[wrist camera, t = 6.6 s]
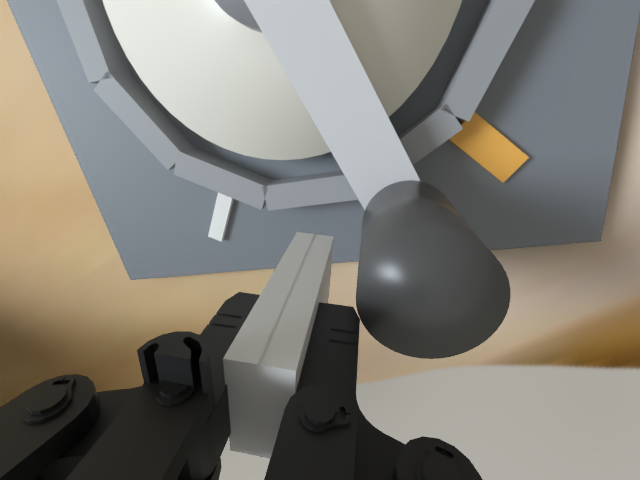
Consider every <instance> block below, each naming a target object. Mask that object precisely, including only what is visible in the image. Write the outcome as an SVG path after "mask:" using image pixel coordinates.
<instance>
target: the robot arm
mask: <svg viewBox="0 0 640 480" xmlns="http://www.w3.org/2000/svg"><path fill="white" fill-rule="evenodd" d="M333 241H334V236H326V235H318V234H309V233H301V232H297V233H296V235H295V236H294V238H293V240H292V241H291V243H290V245H289V247H288V248H287V250H286V252H285V253H284V255H283V257H282V259H281V260H280V262H279V264H278V265H277V267H276V269H275V271H274V272H273V274H272V276H271V277H270V279H269V281H268V282H267V284H266V286H265V288H264V289H263V291H262V293H261V294H260V295H256V294H249V293H242V292H239V293H237V294H235V295H234V296H232V297H231V298H229V299H228V300H226V301H225V302H224V304H223V305H222V306H221V308H220V309H219V310H218V312H217V314H216V315H215V316H214V317H213V318H212V320H211V321H210V323H209V325H207V326H206V328H205V329H204V330H203V332H202V333H201V334H200V335H198V334H195V333H192V332H173V333H168V334H164V335H161V336H159V337H156V338H154V339H152V340H150V341H148V342H147V343H145V344H144V345H143V346H142V347H140V348H139V349H138V350H137V353H138V357H139V361H140V366H141V370H142V375H143V379H144V384H143V385H142V386H141V387H136V388H131V389H122V390H113V391H104V392H96V389H95V386H94V383H93V382H92V381H91V380H90V379H89V378H88V377H86V376H81V375H77V374H74V375H64V376H59V377H56V378H53V379H50V380H46V381H44V382H42V383H40V384H38V385H36V386H34V387H32V388H30V389H29V390H27V391H25V392H24V393H22V394H20V395H19V396H17V397H16V398H14V399H13V400H11V401H10V402H8V403H7V404H5V405H3V406H2V407H0V480H219V475H220V471H221V459H220V456H221V454H222V451H223V449H224V447H225V444H226V442H227V440H228V437H229V438H230V450H232V451H237V452H242V453H247V454H252V455H257V456H261V457H266V458H270V462H269V465H268V469H267V472H266V476H265V479H264V480H482V478H481V476H480V475H479V473H478V472H477V470H476V469H475V468H474V466H473V464H472V463H471V462H470V460H469V459H468V458H467V457H466V456H464V455H463V454H462V453H461V452H460V451H459V450H458V449H457V448H455V447H454V446H452V445H450V444H448V443H446V442H444V441H441V440H440V439H436V438H429V437H420V438H417V439H413V440H410V441H409V442H408V443H407V444H406V445H405V444H403V443H401V442H399V441H398V440H396V439H394V438H392V437H390V436H388V435H386V434H384V433H382V432H381V431H379V430H378V429H376V428H375V427H374V426H372V425H371V424H370V422H368V421H367V420H366V418H365V417H364V415H363V414H362V412H361V411H360V409H359V406H358V403H357V400H356V379H357V360H358V342H359V323H360V319H359V317H358V315H357V313H356V311H355V310H354V308H353V307H349V306H342V305H335V304H328V303H327V302H328V298H329V287H330V276H331V264H332V253H333Z"/></svg>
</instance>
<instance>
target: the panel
mask: <svg viewBox="0 0 640 480" xmlns="http://www.w3.org/2000/svg"><path fill="white" fill-rule="evenodd" d="M7 2H8V4H9V7H10V9H11V11H12V14H13V16H14V18H15V20H16V23H17V25H18V27H19V29H20V32H21V34H22V36H23V38H24V41H25V43H26V45H27V47H28V50H29V52H30V54H31V56H32V59H33V61H34V63H35V65H36V68H37V70H38V72H39V74H40V77H41V79H42V81H43V83H44V86H45V88H46V90H47V92H48V95H49V97H50V99H51V102H52V104H53V106H54V108H55V111H56V113H57V115H58V117H59V120H60V122H61V124H62V126H63V129H64V131H65V133H66V135H67V138H68V140H69V142H70V144H71V147H72V149H73V151H74V153H75V156H76V158H77V160H78V162H79V165H80V167H81V169H82V171H83V174H84V176H85V178H86V180H87V183H88V185H89V187H90V190H91V192H92V194H93V196H94V199H95V201H96V203H97V205H98V208H99V210H100V212H101V214H102V217H103V219H104V221H105V223H106V226H107V228H108V230H109V232H110V235H111V237H112V239H113V241H114V244H115V246H116V248H117V250H118V253H119V255H120V257H121V259H122V262H123V264H124V266H125V269H126V271H127V273H128V275H129V278H130V280H136V279H148V278H161V277H173V276H185V275H197V274H209V273H221V272H233V271H245V270H257V269H269V268H276V267H277V265H278V264H279V262H280V260H281V259H282V257H283V255H284V253H285V252H286V250H287V248H288V247H289V245H290V243H291V241H292V240H293V238H294V236H295V235H296V233H297V232H301V233H309V234H318V235H326V236H334V241H333V253H332V263H341V262H353V261H359V255H360V243H361V232H362V220H363V215H364V211H365V210H364V208H363V207H362V205H361V203H360V201H359V200H358V198H357V196H356V194H355V193H354V191H353V189H352V187H351V186H350V184H349V182H348V180H347V179H346V177H345V175H344V174H343V172H342V170H341V168H340V167H339V165H338V163H337V161H336V160H335V158H334V156H333V154H332V153H331V152H328V153H326V154H323V155H318V156H313V157H309V158H304V159H293V160H270V159H260V158H255V157H250V156H245V155H242V154H239V153H236V152H233V151H230V150H227V149H224V148H222V147H220V146H218V145H216V144H214V143H212V142H210V141H208V140H206V139H204V138H203V137H201V136H200V135H198V134H197V133H195V132H194V131H192V130H191V129H189V128H188V127H186V126H185V125H184V124H183V123H182V122H180V121H179V120H178V119H177V118H176V117H174V116H173V115H172V114H171V113H170V112H169V111H168V110H167V109H166V108H165V107H164V106H163V105H162V104H161V103H160V102H159V101H158V100H157V99H156V98H155V96H154V95H153V94H152V93H151V91H150V90H149V89H148V88H147V86H146V85H145V84H144V82H143V81H142V80H141V79H140V77H139V75H138V74H137V72H136V71H135V69H134V68H133V66H132V64H131V63H130V61H129V60H128V58H127V56H126V54H125V52H124V50H123V49H122V47H121V45H120V43H119V41H118V39H117V37H116V35H115V33H114V30H113V28H112V25H111V22H110V20H109V17H108V15H107V12H106V10H105V7H104V4H103V0H7ZM639 15H640V0H462V2H461V5H460V8H459V11H458V13H457V16H456V18H455V21H454V23H453V26H452V28H451V31H450V33H449V35H448V38H447V40H446V41H445V43H444V45H443V47H442V49H441V51H440V53H439V54H438V56H437V58H436V60H435V62H434V64H433V65H432V67H431V68H430V70H429V71H428V72H427V74H426V75H425V77H424V78H423V80H422V81H421V83H420V84H419V86H418V87H417V88H416V89H415V90H414V92H413V93H412V94H411V95H410V96H409V97H408V98H407V100H406V101H405V102H404V103H403V104H402V105H401V106H400V107H399V108H398V109H397V110H396V111H395V112H394V113H393V114H392V115H391V116H389V117H388V118H389V120H390V122H391V124H392V126H393V128H394V130H395V132H396V134H397V136H398V138H399V139H400V141H401V143H402V145H403V147H404V149H405V151H406V153H407V155H408V157H409V159H410V161H411V163H412V165H413V167H414V169H415V171H416V173H417V175H418V177H419V179H420V181H421V182H425V183H428V184H430V185H432V186H434V187H436V188H437V189H439V190H440V191H441V192H442V193H443V194H444V195H445V196H446V197H447V199H448V200H449V201H450V202H451V203H452V205H453V206H454V207H455V208H456V210H457V211H458V212H459V213H460V214H461V216H462V217H463V218H464V219H465V221H466V222H467V223H468V224H469V225H470V227H471V228H472V229H473V230H474V232H475V233H476V234H477V235H478V237H479V238H480V239H481V240H482V241H483V243H484V244H485V245H486V246H487V248H488V249H489V250H498V249H510V248H522V247H534V246H546V245H558V244H570V243H582V242H594V241H601V236H602V230H603V224H604V218H605V212H606V207H607V201H608V195H609V189H610V183H611V178H612V172H613V166H614V160H615V154H616V149H617V143H618V137H619V131H620V125H621V120H622V114H623V108H624V102H625V96H626V91H627V85H628V79H629V73H630V67H631V62H632V56H633V50H634V44H635V38H636V33H637V27H638V21H639Z"/></svg>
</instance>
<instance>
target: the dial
mask: <svg viewBox="0 0 640 480" xmlns="http://www.w3.org/2000/svg"><path fill="white" fill-rule="evenodd" d="M461 2H462V0H103V4H104V7H105V10H106V12H107V15H108V17H109V20H110V22H111V25H112V28H113V30H114V33H115V35H116V37H117V39H118V41H119V43H120V45H121V47H122V49H123V50H124V52H125V54H126V56H127V58H128V60H129V61H130V63H131V64H132V66H133V68H134V69H135V71H136V72H137V74H138V75H139V77H140V79H141V80H142V81H143V82H144V84H145V85H146V86H147V88H148V89H149V90H150V91H151V93H152V94H153V95H154V96H155V98H156V99H157V100H158V101H159V102H160V103H161V104H162V105H163V106H164V107H165V108H166V109H167V110H168V111H169V112H170V113H171V114H172V115H173V116H174V117H176V118H177V119H178V120H179V121H180V122H182V123H183V124H184V125H185V126H186V127H188V128H189V129H191V130H192V131H194V132H195V133H197V134H198V135H200V136H201V137H203V138H204V139H206V140H208V141H210V142H212V143H214V144H216V145H218V146H220V147H222V148H224V149H227V150H230V151H233V152H236V153H239V154H242V155H245V156H250V157H255V158H260V159H270V160H293V159H304V158H309V157H313V156H318V155H323V154H326V153H328V152H331V153H332V154H333V156H334V158H335V160H336V161H337V163H338V165H339V167H340V168H341V170H342V172H343V174H344V175H345V177H346V179H347V180H348V182H349V184H350V186H351V187H352V189H353V191H354V193H355V194H356V196H357V198H358V200H359V201H360V203H361V205H362V207H363V208H364V210H365V211H364V215H363V220H362V232H361V243H360V255H359V267H358V279H357V290H356V305H357V310H358V314H359V316H360V319H361V321H362V323H363V325H364V326H365V328H366V329H367V330H368V332H369V333H370V334H371V335H372V336H373V337H374V338H375V339H376V340H377V341H379V342H380V343H381V344H382V345H384V346H386V347H387V348H389V349H391V350H393V351H395V352H398V353H401V354H403V355H407V356H411V357H417V358H428V359H434V358H445V357H451V356H454V355H458V354H461V353H464V352H466V351H469V350H471V349H473V348H475V347H477V346H478V345H480V344H481V343H483V342H484V341H485V340H487V339H488V338H489V337H490V336H491V335H492V334H493V333H494V332H495V331H496V330H497V329H498V327H499V326H500V325H501V323H502V322H503V320H504V318H505V316H506V313H507V310H508V307H509V302H510V286H509V280H508V278H507V275H506V272H505V270H504V269H503V267H502V265H501V264H500V262H499V261H498V260H497V259H496V257H495V256H494V255H493V254H492V252H491V251H490V250H489V249H488V248H487V246H486V245H485V244H484V243H483V241H482V240H481V239H480V238H479V237H478V235H477V234H476V233H475V232H474V230H473V229H472V228H471V227H470V225H469V224H468V223H467V222H466V221H465V219H464V218H463V217H462V216H461V214H460V213H459V212H458V211H457V210H456V208H455V207H454V206H453V205H452V203H451V202H450V201H449V200H448V199H447V197H446V196H445V195H444V194H443V193H442V192H441V191H440V190H439V189H437V188H436V187H434V186H432V185H430V184H428V183H425V182H421V181H420V179H419V177H418V175H417V173H416V171H415V169H414V167H413V165H412V163H411V161H410V159H409V157H408V155H407V153H406V151H405V149H404V147H403V145H402V143H401V141H400V139H399V138H398V136H397V134H396V132H395V130H394V128H393V126H392V124H391V122H390V120H389V118H388V117H389V116H391V115H392V114H393V113H394V112H395V111H396V110H397V109H398V108H399V107H400V106H401V105H402V104H403V103H404V102H405V101H406V100H407V98H408V97H409V96H410V95H411V94H412V93H413V92H414V90H415V89H416V88H417V87H418V86H419V84H420V83H421V81H422V80H423V78H424V77H425V75H426V74H427V72H428V71H429V70H430V68H431V67H432V65H433V64H434V62H435V60H436V58H437V56H438V54H439V53H440V51H441V49H442V47H443V45H444V43H445V41H446V40H447V38H448V35H449V33H450V31H451V28H452V26H453V23H454V21H455V18H456V16H457V13H458V11H459V8H460V5H461Z"/></svg>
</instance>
